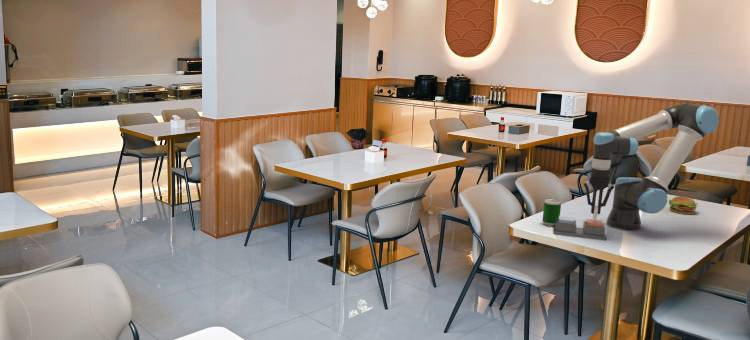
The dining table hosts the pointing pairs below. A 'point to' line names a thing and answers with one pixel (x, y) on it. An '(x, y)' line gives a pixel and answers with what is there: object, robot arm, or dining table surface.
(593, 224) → the brick red key
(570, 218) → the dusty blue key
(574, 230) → the key console
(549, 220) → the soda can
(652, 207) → the robot arm
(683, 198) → the food
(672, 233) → the dining table surface
